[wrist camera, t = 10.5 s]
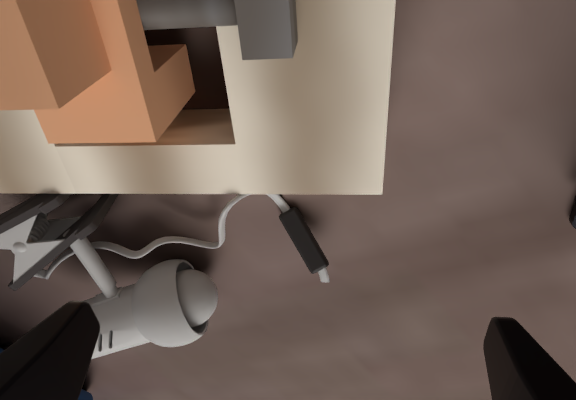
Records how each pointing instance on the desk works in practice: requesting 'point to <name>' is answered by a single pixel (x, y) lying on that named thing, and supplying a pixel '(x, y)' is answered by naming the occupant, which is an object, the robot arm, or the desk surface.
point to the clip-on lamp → (151, 285)
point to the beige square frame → (243, 110)
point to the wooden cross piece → (90, 71)
